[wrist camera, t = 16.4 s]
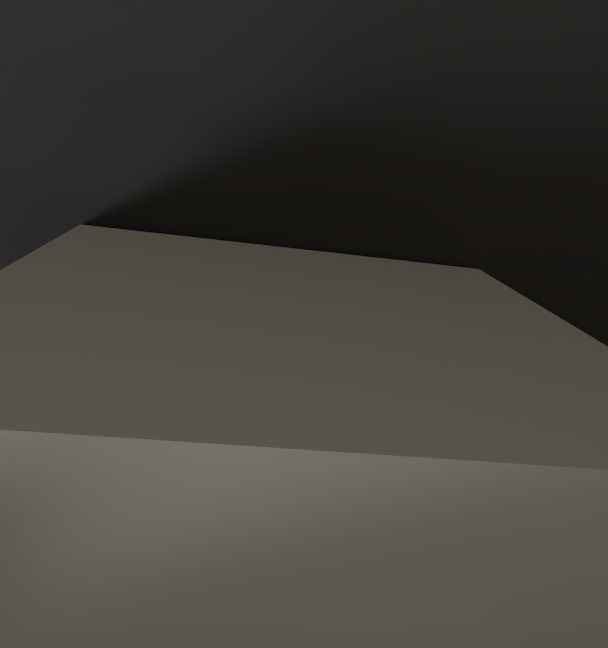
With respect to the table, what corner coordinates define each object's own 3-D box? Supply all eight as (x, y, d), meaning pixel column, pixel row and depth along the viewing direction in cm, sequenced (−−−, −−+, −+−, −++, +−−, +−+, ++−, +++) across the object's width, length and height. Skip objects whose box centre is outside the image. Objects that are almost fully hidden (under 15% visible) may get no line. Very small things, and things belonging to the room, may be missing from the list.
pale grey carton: (74, 650, 11) (-107, 1204, 6) (80, 224, 9) (-248, 413, 3) (390, 656, 12) (522, 1142, 6) (478, 269, 10) (839, 486, 4)
